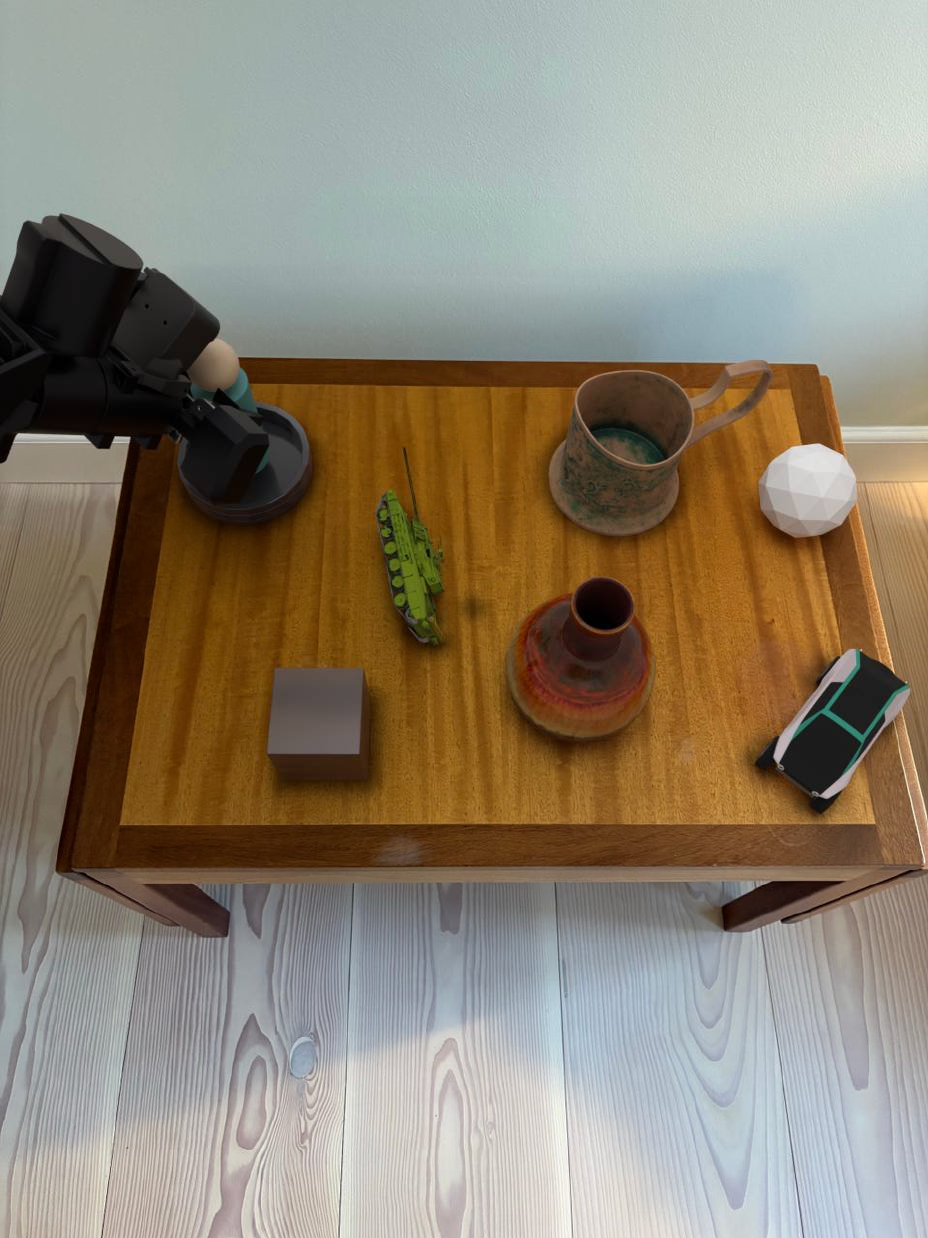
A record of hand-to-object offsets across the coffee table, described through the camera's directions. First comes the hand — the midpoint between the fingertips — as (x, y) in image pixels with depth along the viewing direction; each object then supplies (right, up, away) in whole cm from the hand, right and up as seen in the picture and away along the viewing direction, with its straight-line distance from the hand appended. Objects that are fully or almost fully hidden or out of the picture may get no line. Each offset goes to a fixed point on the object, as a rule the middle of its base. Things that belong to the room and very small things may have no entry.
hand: (242, 404), depth 72 cm
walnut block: (+7, -27, -4) cm, 28 cm away
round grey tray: (-1, -4, +7) cm, 8 cm away
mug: (+34, -4, +8) cm, 35 cm away
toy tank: (+15, -11, +4) cm, 19 cm away
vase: (+26, -23, -1) cm, 35 cm away
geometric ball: (+45, -10, +1) cm, 47 cm away
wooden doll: (-1, -3, +5) cm, 6 cm away
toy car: (+46, -27, -2) cm, 53 cm away
